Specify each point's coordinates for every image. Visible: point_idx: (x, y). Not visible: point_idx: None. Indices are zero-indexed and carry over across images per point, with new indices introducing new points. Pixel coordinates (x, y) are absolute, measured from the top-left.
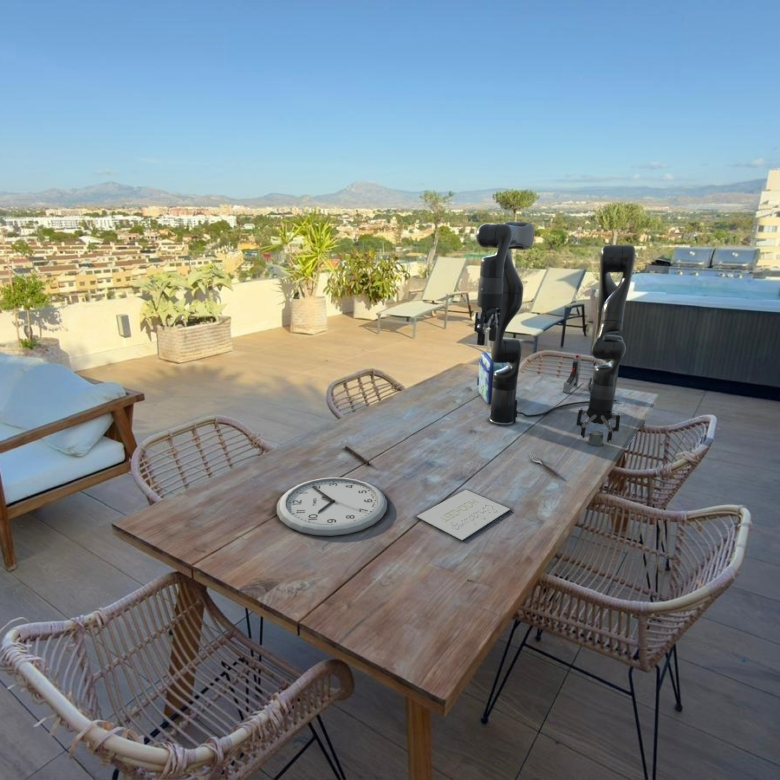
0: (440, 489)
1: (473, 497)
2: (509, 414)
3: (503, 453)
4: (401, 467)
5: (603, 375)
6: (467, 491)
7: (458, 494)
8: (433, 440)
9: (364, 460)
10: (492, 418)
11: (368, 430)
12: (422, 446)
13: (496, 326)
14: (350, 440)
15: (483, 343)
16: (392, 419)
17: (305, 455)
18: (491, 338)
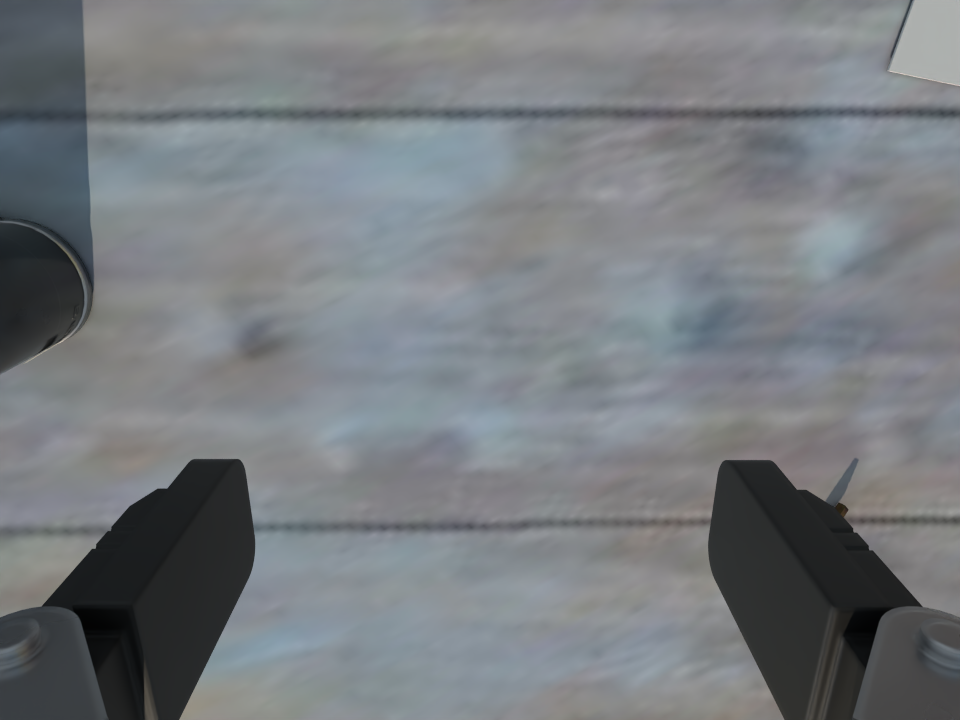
0: (916, 170)
1: (948, 3)
2: (6, 241)
3: (406, 96)
4: (797, 398)
5: None
6: (903, 54)
7: (947, 76)
8: (474, 431)
9: None
10: (75, 319)
11: (543, 667)
12: (561, 435)
13: (44, 681)
14: (668, 662)
15: (777, 475)
16: (380, 662)
17: None
18: (233, 539)
